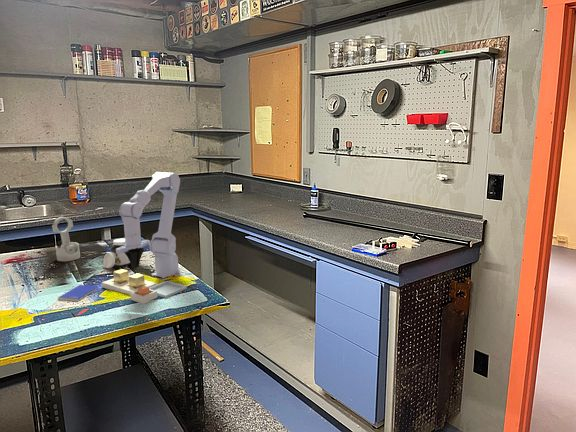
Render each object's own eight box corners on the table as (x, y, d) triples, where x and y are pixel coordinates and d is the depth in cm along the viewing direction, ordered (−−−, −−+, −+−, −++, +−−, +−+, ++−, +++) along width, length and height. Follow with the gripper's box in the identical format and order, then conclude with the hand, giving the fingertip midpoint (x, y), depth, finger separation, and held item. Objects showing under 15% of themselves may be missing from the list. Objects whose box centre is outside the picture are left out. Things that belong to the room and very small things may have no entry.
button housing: (145, 294, 165) (144, 287, 164) (157, 298, 162) (156, 291, 161) (131, 300, 159) (130, 293, 159) (143, 304, 156) (142, 297, 155)
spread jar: (137, 262, 202) (135, 238, 199) (124, 270, 191) (122, 245, 188) (114, 261, 204) (112, 237, 201) (99, 269, 193) (97, 244, 190)
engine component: (84, 257, 209) (73, 253, 215) (79, 216, 204) (68, 213, 210) (61, 263, 200) (51, 259, 206) (56, 220, 196) (45, 217, 202)
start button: (144, 292, 163) (144, 285, 162) (152, 294, 161) (151, 287, 160) (136, 296, 159) (135, 289, 159) (143, 298, 157) (142, 291, 157)
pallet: (125, 278, 181) (124, 274, 181) (156, 287, 172) (156, 283, 171) (102, 287, 172) (101, 282, 172) (134, 297, 163) (133, 292, 162)
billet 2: (138, 287, 172) (137, 273, 171) (145, 289, 170) (144, 275, 169) (129, 290, 169) (128, 276, 168) (136, 292, 167) (135, 278, 166)
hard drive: (78, 298, 159) (97, 286, 171) (57, 296, 160) (78, 284, 172) (78, 302, 159) (98, 289, 171) (58, 300, 161) (79, 288, 172)
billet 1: (122, 282, 177) (121, 269, 176) (129, 284, 175) (128, 270, 174) (114, 286, 174) (113, 271, 172) (121, 288, 172) (119, 273, 170)
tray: (167, 284, 176) (166, 280, 175) (187, 289, 170) (186, 286, 170) (145, 293, 166) (145, 289, 166) (165, 299, 161) (165, 295, 161)
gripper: (123, 239, 156) (126, 274, 159) (154, 230, 169) (156, 263, 172) (111, 236, 160) (114, 271, 163) (142, 228, 172) (144, 260, 175)
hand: (135, 267), depth 168 cm, fingers closed
